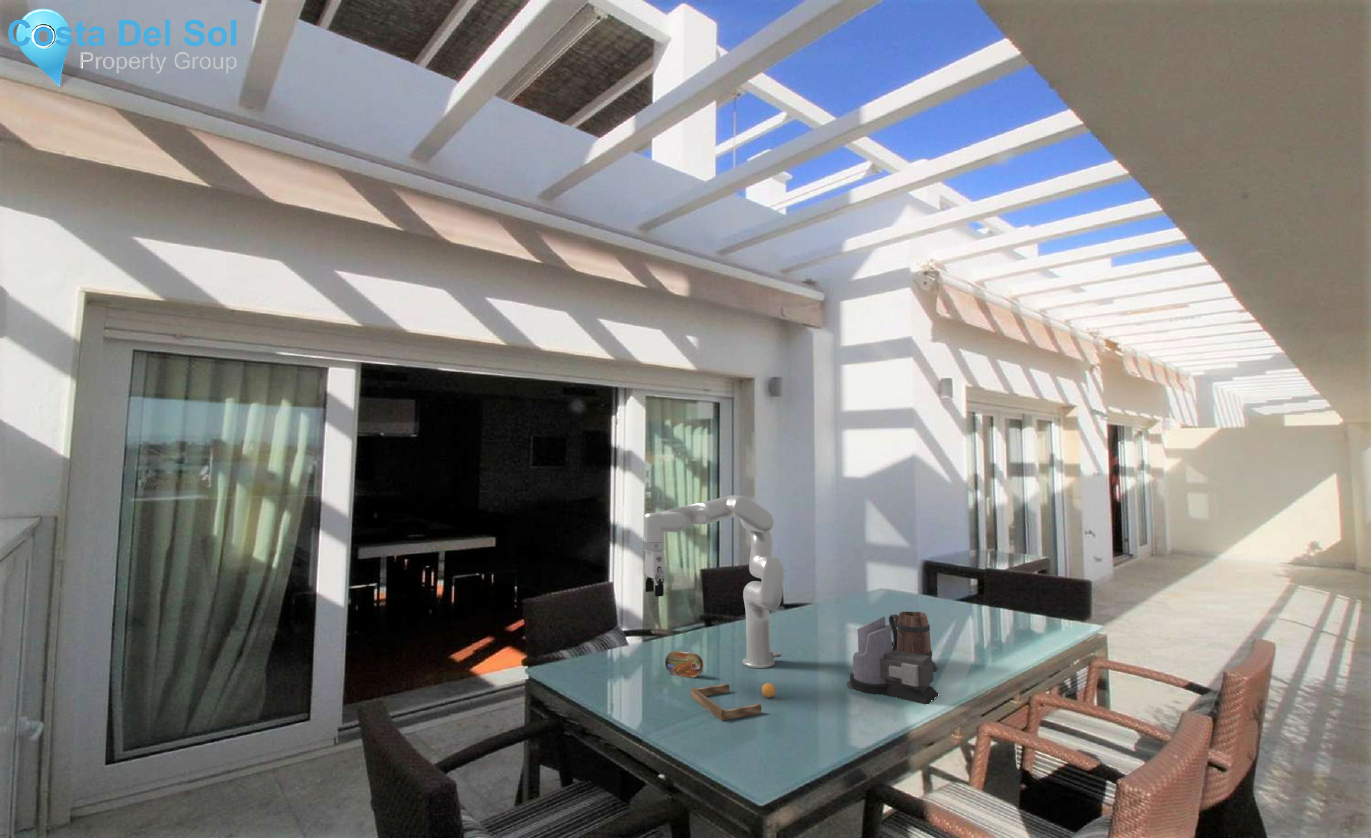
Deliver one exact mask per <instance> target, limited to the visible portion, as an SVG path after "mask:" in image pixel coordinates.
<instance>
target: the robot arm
mask: <svg viewBox="0 0 1371 838" xmlns="http://www.w3.org/2000/svg"><path fill="white" fill-rule="evenodd" d="M731 518H739V521H740V524H741V525H742V528H744V529H745V531H746V532H747V533H748V535H749V537H750V552H749V553H750V554H749V562H748V563H749V565H748V570H749V573H750V574H751V576H753V577H755V578H757V579H761V581H760V580H759V581H758V580H752V581H750V582H748V583H746V585H745V586H744V588H743V592H742V594H743V595H742V598H743V602H744V608H745V609H744V610H745V642H746V643H745V650H746V651H745V652H746V653H745V655H746V656H745V657H744V658H743V659H742V665H744V666H745V667H749V668H751V669H752V668H753V669H767V668H771V667H773V666H775V664H776V661H775V658H780V657H782V651H775V650H771V617H770V616H771V615H770V614H771V613H770V611H771V612H772V611H775V610H776V609H778V608H779V606H780V604H781V602H782V597H783V587H784V576H785V569H784V564H783V562H782V561H781V560H780V559H779V558H778V557H775V556H773V537H772V534H771V530H772V529H773V527H774V524H775V522H774V517H773V515H772V514H771V513H770V512H769V511H768V509H765V508H764V507H762V506H760V505H759V504H757V503H756V502H754V501H753V500H752V499H750V498H748V497H746V496H745V495H734V494H733V495H726V496H722V497H719V498H715V499H714V498H713V499H711V500H706V501H702V502H696V503H693V504H687V505H682V506H679V507H674V508H671V509H667V510H664V511H661V512H648V513H645V514H644V515H643V551H644V552H645V554H644V575H645V578H644V581H645V585H644V587H645V592H646V593H652V592H654V596H655V598H657V597H664V592H665V590H664V587H665V578H666V576H667V574H666V557H665V533H666V532H667V533H680V532H682V531H683V530H684V529H685V528H686V526H688V525H707V524H708V525H709V524H712V523H717V522H719V521H722V520H726V519H731Z"/></svg>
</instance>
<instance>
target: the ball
mask: <svg viewBox="0 0 1371 838" xmlns="http://www.w3.org/2000/svg"><path fill="white" fill-rule="evenodd" d="M761 694H762V695H763V696H764V697H765V698H772V697H774V696H775V694H776V688H775V686H774V685H773V683H771V682H766V683H764V684H763V685H762V687H761Z"/></svg>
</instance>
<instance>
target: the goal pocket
mask: <svg viewBox="0 0 1371 838" xmlns="http://www.w3.org/2000/svg"><path fill="white" fill-rule="evenodd" d="M725 693H730V684H729V683H724V684H717V685H712V686H706V687H704V686H703V687H699V688H695V687H690V698H691V699H693V700H694V701H695V702H696V703H698V704H699V705H700V706H702V707H703V708H704V709H705V710H706V711H708V712H709V713H711V714H712V715H713V716H715V718H717V719H719V720H720V721H721V722H723V721H728V720H733V719H738V718H744V717H749V716H753V715H759V714H762V704H761V703H757V704H752V705H746V706H740V707H736V708H730V709H723V708H722V707H721V706H720V705H718V704H717V703H715V702H714V701H712V700H711V699H710V698H709V697H708V696H713V695H714V696H715V695H720V694H725Z"/></svg>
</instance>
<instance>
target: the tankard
mask: <svg viewBox="0 0 1371 838" xmlns="http://www.w3.org/2000/svg"><path fill="white" fill-rule="evenodd" d="M927 616H928V615H927V614H926V613H925V612H923V611H922V612H921V611H907V610H905V611H900V612H899V613H898V614H896V613H895V614H890V615H889V616H888V623H889V624H888V625H890V626H891V634H892V649H893V650H898V651H904V652H910V653H915V654H921V655H927V656H930V660H932V661H933V651H932V647H931V645H932V644H931V633H930V630H931V629H930V627H931V626H930V624H929V620H928V617H927ZM937 670H938V671H939V667H938V666H937V665H936V663H935V661H933V672H934V673H936V672H938V671H937Z"/></svg>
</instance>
